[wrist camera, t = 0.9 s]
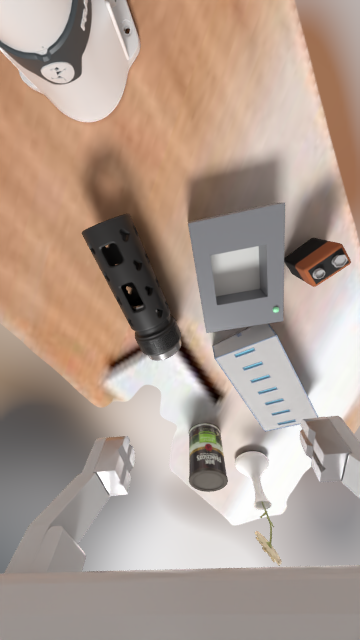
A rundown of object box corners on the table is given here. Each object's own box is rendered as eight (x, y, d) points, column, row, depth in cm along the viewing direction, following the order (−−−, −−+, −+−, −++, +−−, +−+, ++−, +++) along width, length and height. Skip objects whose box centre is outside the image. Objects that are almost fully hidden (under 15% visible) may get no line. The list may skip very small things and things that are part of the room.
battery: (322, 253, 44) (357, 264, 35) (292, 274, 46) (317, 290, 38) (313, 236, 43) (346, 243, 34) (282, 259, 45) (305, 271, 36)
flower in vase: (230, 450, 74) (249, 553, 52) (264, 444, 72) (298, 549, 50) (238, 471, 80) (258, 573, 57) (269, 466, 78) (303, 569, 55)
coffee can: (190, 421, 68) (191, 469, 56) (222, 424, 68) (230, 472, 56) (187, 442, 73) (187, 490, 60) (217, 444, 73) (224, 493, 60)
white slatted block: (212, 344, 56) (215, 363, 49) (265, 318, 52) (276, 335, 45) (258, 414, 67) (267, 437, 60) (305, 397, 63) (319, 420, 56)
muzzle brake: (136, 212, 42) (122, 213, 33) (184, 331, 54) (184, 356, 44) (94, 230, 44) (69, 235, 34) (149, 341, 55) (142, 367, 46)
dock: (187, 221, 42) (188, 223, 37) (271, 203, 41) (285, 202, 35) (204, 320, 52) (206, 333, 46) (272, 309, 50) (283, 321, 45)
